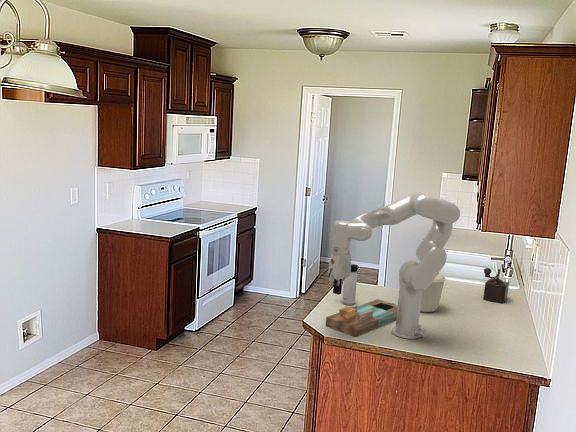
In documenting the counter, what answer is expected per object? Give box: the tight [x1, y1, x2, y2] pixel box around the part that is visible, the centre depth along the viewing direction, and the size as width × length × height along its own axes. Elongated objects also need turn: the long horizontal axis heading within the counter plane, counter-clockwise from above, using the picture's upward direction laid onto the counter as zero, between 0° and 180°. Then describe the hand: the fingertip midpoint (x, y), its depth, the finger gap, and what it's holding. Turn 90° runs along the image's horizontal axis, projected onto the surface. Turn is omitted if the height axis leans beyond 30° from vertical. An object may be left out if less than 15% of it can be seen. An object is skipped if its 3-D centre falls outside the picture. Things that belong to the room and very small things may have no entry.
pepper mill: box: [482, 267, 510, 305], centre depth 295 cm, size 16×11×18 cm
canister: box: [420, 272, 447, 313], centre depth 275 cm, size 18×18×21 cm
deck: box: [325, 298, 398, 338], centre depth 256 cm, size 16×40×7 cm, turn 137°
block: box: [338, 305, 356, 323], centre depth 244 cm, size 5×5×5 cm
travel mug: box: [341, 263, 359, 306], centre depth 278 cm, size 6×7×20 cm
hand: (336, 293), depth 237 cm, fingers closed
